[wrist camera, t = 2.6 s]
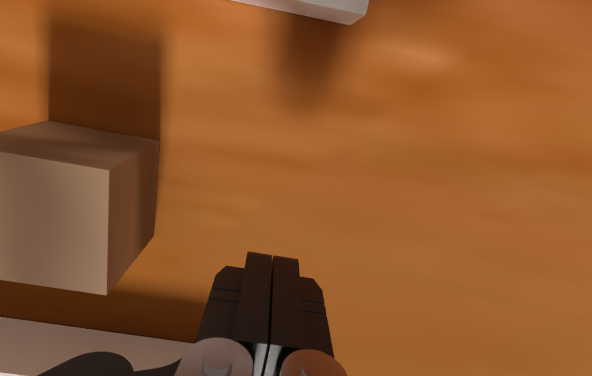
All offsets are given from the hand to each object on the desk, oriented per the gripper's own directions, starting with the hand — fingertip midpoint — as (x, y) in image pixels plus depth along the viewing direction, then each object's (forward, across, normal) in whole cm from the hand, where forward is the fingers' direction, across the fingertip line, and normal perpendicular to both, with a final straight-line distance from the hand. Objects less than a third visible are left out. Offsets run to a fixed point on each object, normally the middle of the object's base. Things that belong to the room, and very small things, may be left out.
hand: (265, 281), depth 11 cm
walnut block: (+6, +7, 0) cm, 9 cm away
